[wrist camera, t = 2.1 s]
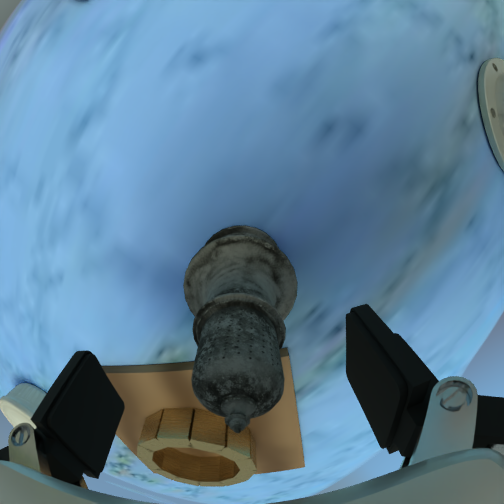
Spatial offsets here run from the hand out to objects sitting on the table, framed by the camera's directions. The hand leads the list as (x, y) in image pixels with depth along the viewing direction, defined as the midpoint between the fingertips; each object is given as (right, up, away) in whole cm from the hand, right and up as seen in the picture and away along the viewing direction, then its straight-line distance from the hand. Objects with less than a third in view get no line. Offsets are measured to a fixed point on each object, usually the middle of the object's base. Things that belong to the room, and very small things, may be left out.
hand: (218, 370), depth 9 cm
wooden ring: (-4, -14, +14) cm, 20 cm away
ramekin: (-26, -16, +14) cm, 34 cm away
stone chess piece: (0, +3, +9) cm, 9 cm away
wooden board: (-4, -14, +14) cm, 20 cm away
